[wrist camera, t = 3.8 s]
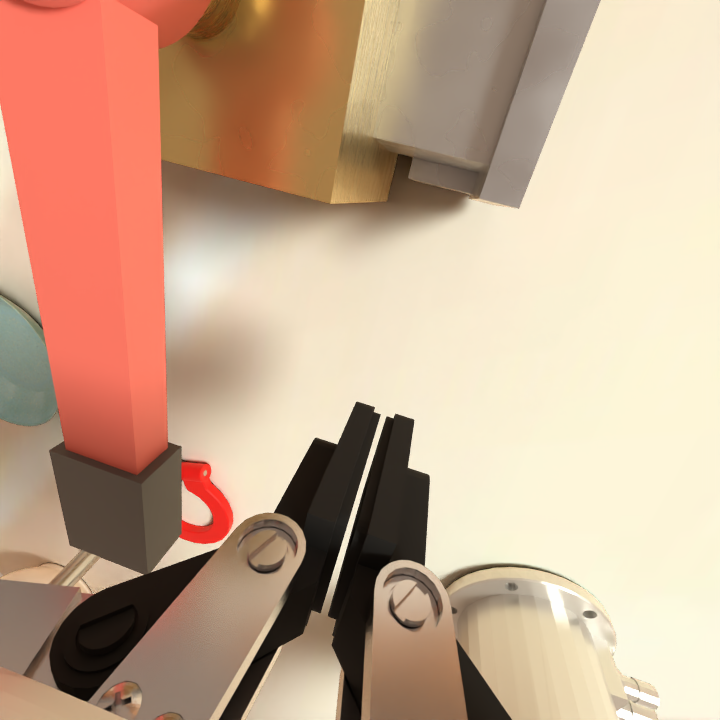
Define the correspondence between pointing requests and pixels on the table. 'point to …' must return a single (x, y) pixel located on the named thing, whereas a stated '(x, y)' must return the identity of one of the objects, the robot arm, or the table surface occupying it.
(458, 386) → the table surface
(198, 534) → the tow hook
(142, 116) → the lever
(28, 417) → the saucer
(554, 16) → the valve body
